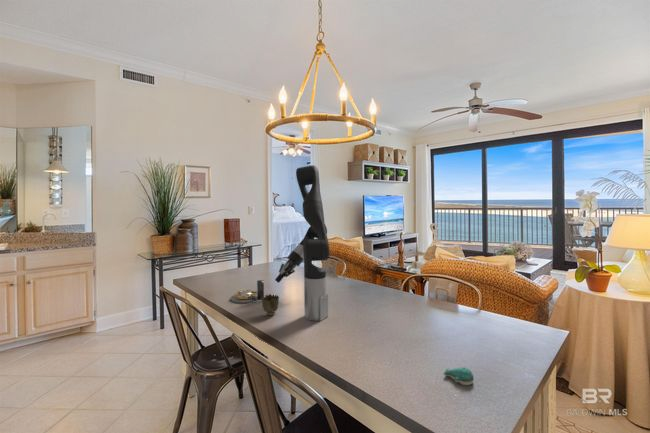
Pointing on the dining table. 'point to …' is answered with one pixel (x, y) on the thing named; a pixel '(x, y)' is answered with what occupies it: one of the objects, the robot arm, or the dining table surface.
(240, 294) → the steel flange
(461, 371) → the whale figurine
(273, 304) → the cup
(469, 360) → the dining table surface
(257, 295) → the golden ring with handle
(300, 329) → the dining table surface
